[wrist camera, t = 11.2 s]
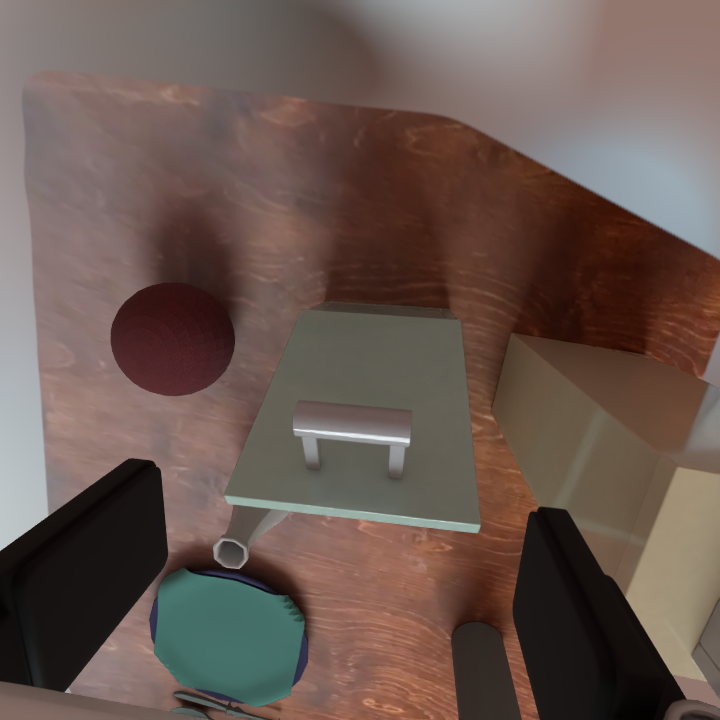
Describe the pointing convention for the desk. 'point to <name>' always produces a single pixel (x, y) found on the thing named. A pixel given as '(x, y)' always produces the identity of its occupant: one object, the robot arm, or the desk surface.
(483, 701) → the bottle
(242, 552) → the flask
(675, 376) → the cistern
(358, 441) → the pale green box lid
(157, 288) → the decorative ball
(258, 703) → the cutlery set
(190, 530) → the desk surface
